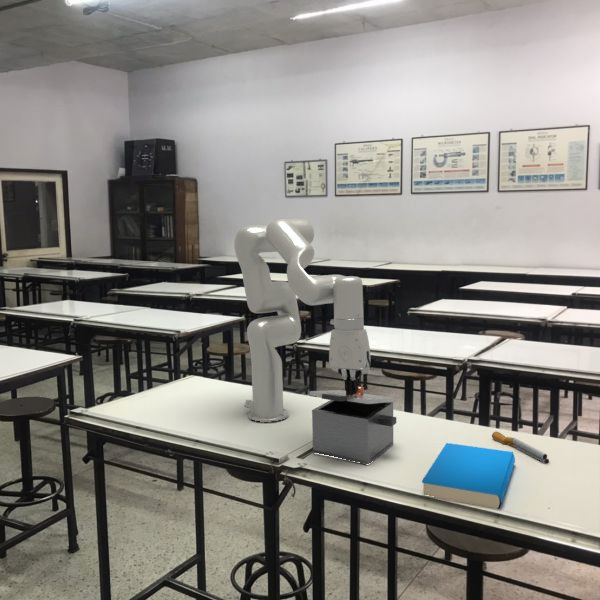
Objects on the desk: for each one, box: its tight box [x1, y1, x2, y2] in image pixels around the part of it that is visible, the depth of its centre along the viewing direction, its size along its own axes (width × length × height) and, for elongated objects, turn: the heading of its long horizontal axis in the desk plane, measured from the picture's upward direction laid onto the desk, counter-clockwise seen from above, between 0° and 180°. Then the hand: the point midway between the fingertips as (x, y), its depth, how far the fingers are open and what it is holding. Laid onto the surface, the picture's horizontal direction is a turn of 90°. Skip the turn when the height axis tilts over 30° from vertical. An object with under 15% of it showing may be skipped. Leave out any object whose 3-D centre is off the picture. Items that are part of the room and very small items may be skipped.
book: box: [421, 442, 516, 509], centre depth 143 cm, size 17×4×25 cm
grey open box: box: [311, 400, 397, 464], centre depth 162 cm, size 20×16×12 cm
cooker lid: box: [309, 386, 395, 404], centre depth 160 cm, size 17×21×3 cm
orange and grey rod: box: [491, 430, 550, 464], centre depth 160 cm, size 19×3×3 cm
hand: (351, 394), depth 159 cm, fingers closed
